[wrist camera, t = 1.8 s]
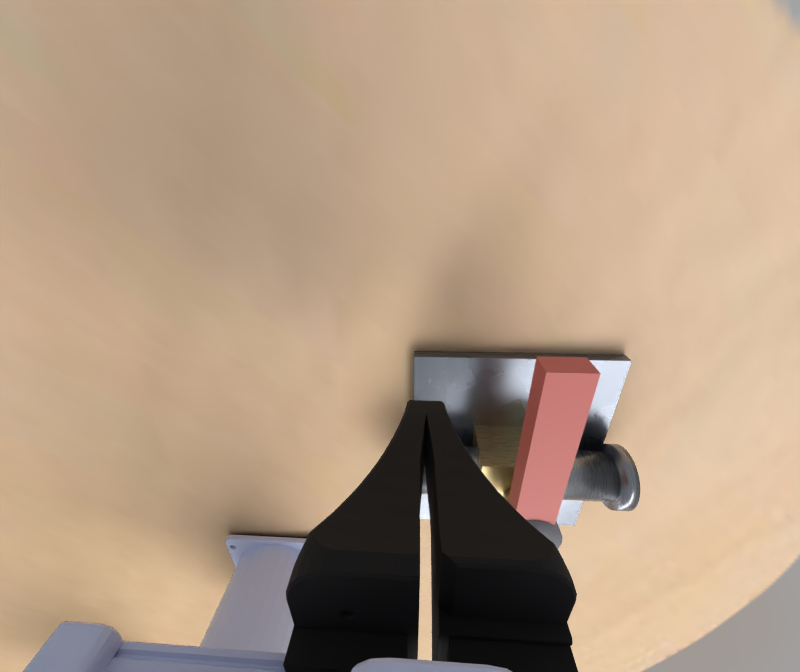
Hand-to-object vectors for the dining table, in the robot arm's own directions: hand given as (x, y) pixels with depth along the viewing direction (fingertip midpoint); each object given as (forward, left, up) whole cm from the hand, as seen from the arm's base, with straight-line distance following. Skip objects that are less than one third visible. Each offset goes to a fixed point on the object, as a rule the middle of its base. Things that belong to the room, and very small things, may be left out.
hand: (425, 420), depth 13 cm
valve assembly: (-7, -5, -6) cm, 10 cm away
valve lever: (-3, -5, -1) cm, 6 cm away
